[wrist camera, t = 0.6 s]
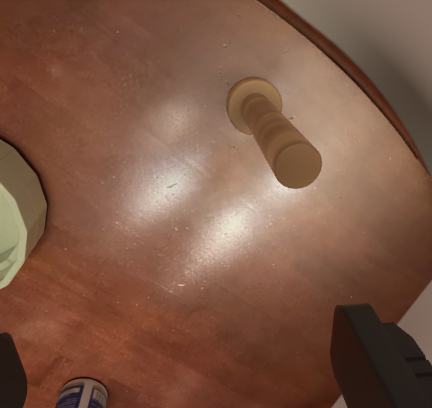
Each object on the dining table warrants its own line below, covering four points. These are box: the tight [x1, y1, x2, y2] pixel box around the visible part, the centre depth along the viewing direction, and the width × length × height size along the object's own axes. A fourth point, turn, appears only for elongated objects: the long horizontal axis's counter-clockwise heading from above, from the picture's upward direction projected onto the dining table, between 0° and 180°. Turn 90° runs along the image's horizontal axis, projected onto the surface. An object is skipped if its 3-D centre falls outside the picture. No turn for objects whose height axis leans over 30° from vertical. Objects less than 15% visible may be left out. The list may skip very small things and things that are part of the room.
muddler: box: [226, 77, 322, 189], centre depth 26 cm, size 4×4×15 cm
